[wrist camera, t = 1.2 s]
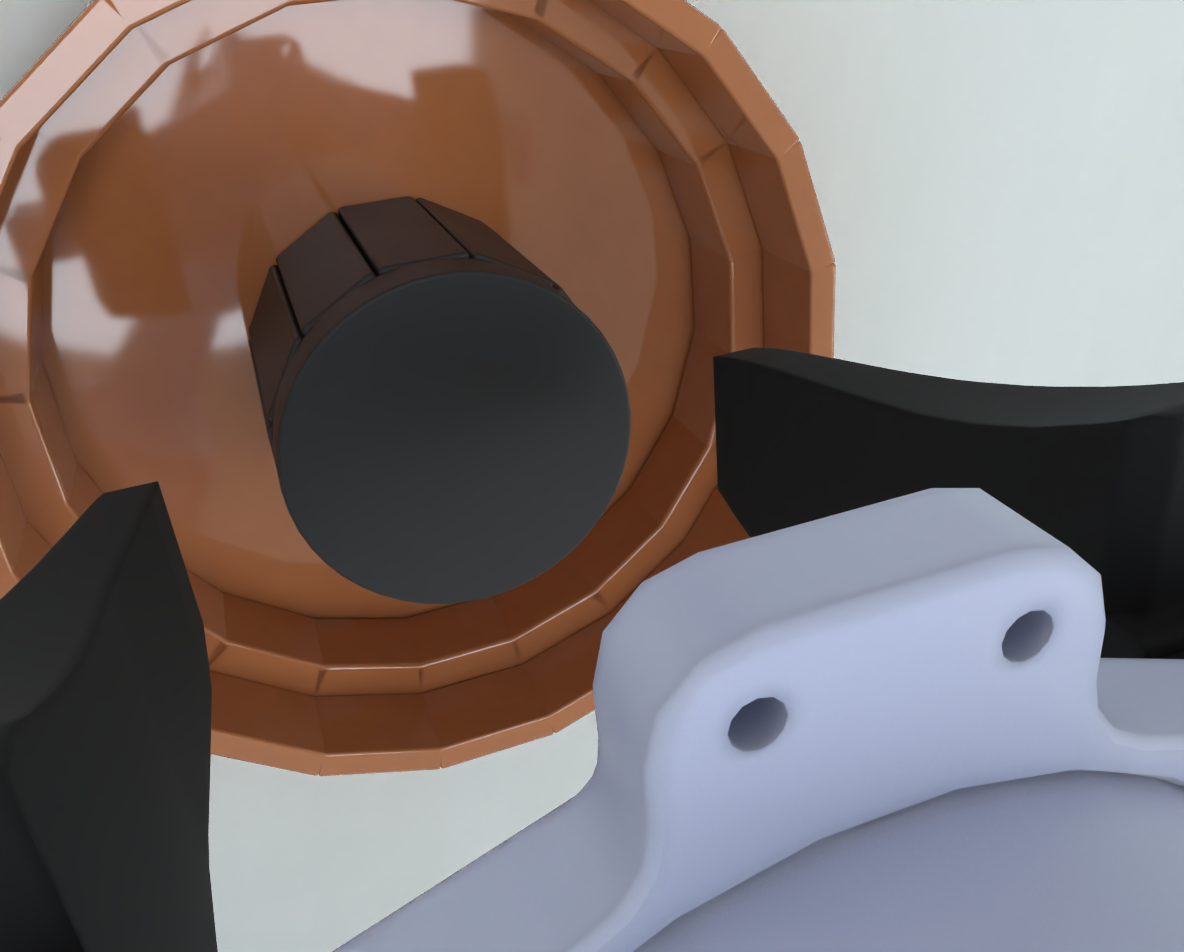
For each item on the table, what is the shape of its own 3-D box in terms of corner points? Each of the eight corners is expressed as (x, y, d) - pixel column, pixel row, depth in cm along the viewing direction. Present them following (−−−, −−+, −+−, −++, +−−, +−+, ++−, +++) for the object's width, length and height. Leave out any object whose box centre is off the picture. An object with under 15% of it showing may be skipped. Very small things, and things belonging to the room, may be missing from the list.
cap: (549, 438, 21) (642, 557, 17) (288, 499, 20) (320, 644, 16) (518, 177, 19) (619, 241, 15) (219, 226, 18) (234, 311, 13)
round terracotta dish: (739, 556, 25) (828, 650, 22) (112, 730, 21) (102, 875, 18) (722, -123, 18) (846, -141, 15) (-186, -41, 15) (-291, -40, 11)
